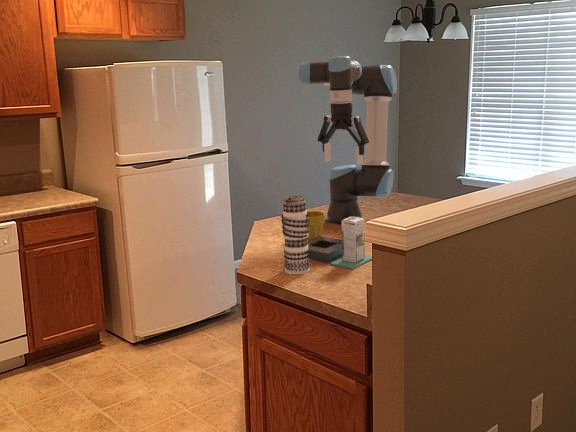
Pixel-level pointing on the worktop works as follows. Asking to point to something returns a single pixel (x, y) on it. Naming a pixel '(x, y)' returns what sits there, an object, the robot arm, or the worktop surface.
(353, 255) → the syrup box
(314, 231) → the plant pot
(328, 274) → the worktop surface
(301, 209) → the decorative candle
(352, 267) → the mat
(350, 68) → the robot arm
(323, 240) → the grey square tray
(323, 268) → the worktop surface
